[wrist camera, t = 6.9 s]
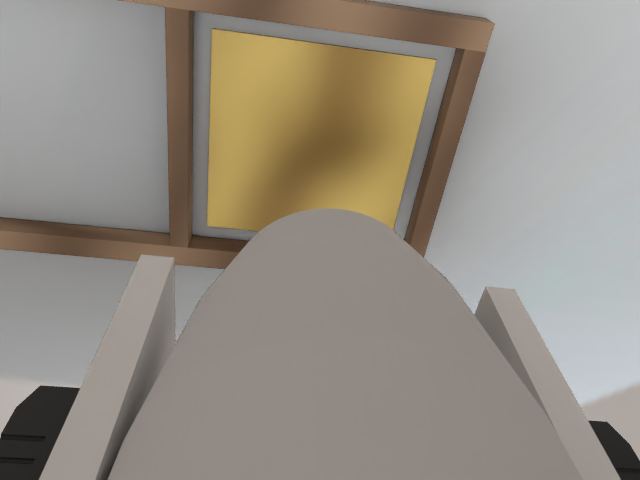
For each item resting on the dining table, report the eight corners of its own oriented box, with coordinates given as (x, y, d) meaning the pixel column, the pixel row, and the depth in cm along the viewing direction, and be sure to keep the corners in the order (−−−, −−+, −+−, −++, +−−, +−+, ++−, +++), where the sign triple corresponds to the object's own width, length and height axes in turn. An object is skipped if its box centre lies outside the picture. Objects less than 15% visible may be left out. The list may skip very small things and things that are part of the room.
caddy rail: (-337, 205, 22) (-362, 216, 21) (-551, -136, 16) (-598, -138, 15) (411, 273, 26) (415, 285, 25) (485, 18, 19) (494, 23, 18)
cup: (383, 415, 17) (467, 912, 9) (138, 346, 15) (-66, 911, 7) (535, 221, 13) (961, 787, 5) (231, 92, 11) (15, 691, 3)
